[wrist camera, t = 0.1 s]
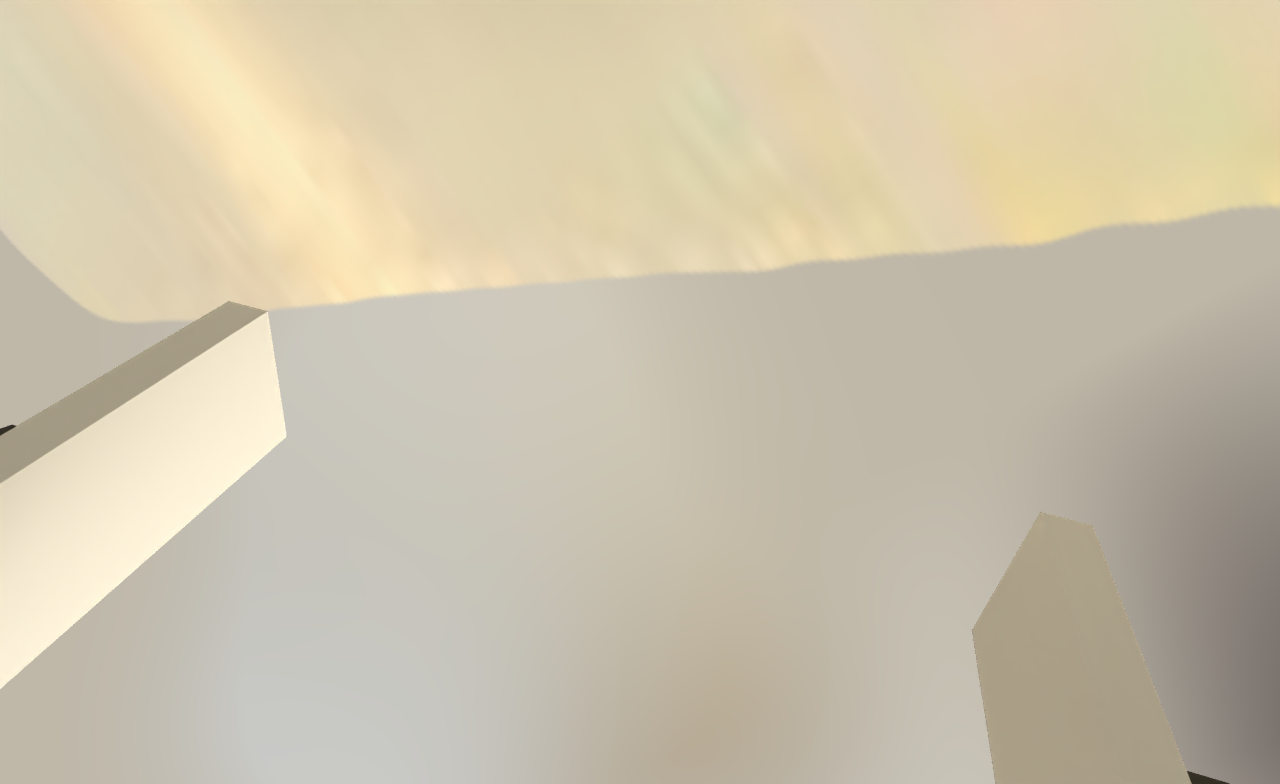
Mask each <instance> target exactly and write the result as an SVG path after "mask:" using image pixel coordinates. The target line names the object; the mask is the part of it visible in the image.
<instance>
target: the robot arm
mask: <svg viewBox="0 0 1280 784" xmlns="http://www.w3.org/2000/svg"><path fill="white" fill-rule="evenodd" d="M285 437H286V429H285V423H284V416H283V409H282V403H281V396H280V390H279V383H278V376H277V370H276V363H275V357H274V350H273V344H272V337H271V331H270V324H269V317H268V311H264V310H260V309H257V308H253V307H249V306H245V305H241V304H237V303H233V302H230V301H228V302H227V303H225V304H223V305H222V306H220V307H218V308H217V309H215V310H213V311H211V312H210V313H208V314H206V315H205V316H203V317H201V318H200V319H198V320H196V321H194V322H193V323H191V324H189V325H188V326H186V327H184V328H183V329H181V330H179V331H178V332H176V333H174V334H173V335H171V336H169V337H167V338H166V339H164V340H162V341H161V342H159V343H157V344H155V345H154V346H152V347H150V348H149V349H147V350H145V351H144V352H142V353H140V354H138V355H137V356H135V357H133V358H132V359H130V360H128V361H127V362H125V363H123V364H121V365H120V366H118V367H116V368H115V369H113V370H111V371H110V372H108V373H106V374H105V375H103V376H101V377H100V378H98V379H96V380H94V381H93V382H91V383H89V384H87V385H86V386H84V387H83V388H81V389H79V390H77V391H76V392H74V393H73V394H71V395H69V396H67V397H65V398H64V399H62V400H60V401H59V402H57V403H55V404H53V405H52V406H50V407H48V408H47V409H45V410H43V411H42V412H40V413H38V414H37V415H35V416H33V417H32V418H30V419H28V420H26V421H25V422H23V423H21V424H20V425H18V426H15V425H10V426H7V427H4V428H1V429H0V689H1V688H2V687H3V686H4V685H5V684H6V683H7V682H8V681H10V680H11V679H12V678H13V677H14V676H15V675H16V674H18V673H19V672H20V671H21V670H22V669H23V668H24V667H26V666H27V665H28V664H29V663H30V662H31V661H32V660H33V659H35V658H36V657H37V656H38V655H39V654H40V653H41V652H43V651H44V650H45V649H46V648H47V647H48V646H49V645H50V644H52V643H53V642H54V641H55V640H56V639H57V638H58V637H60V636H61V635H62V634H63V633H64V632H65V631H66V630H67V629H69V628H70V627H71V626H72V625H73V624H74V623H75V622H77V621H78V620H79V619H80V618H81V617H82V616H83V615H85V614H86V613H87V612H88V611H89V610H90V609H91V608H92V607H94V606H95V605H96V604H97V603H98V602H99V601H100V600H102V599H103V598H104V597H105V596H106V595H107V594H108V593H109V592H110V591H112V590H113V589H114V588H115V587H116V586H117V585H119V584H120V583H121V582H122V581H123V580H124V579H125V578H126V577H128V576H129V575H130V574H131V573H132V572H133V571H134V570H136V569H137V568H138V567H139V566H140V565H141V564H142V563H143V562H145V561H146V560H147V559H148V558H149V557H150V556H151V555H153V554H154V553H155V552H156V551H157V550H158V549H159V548H160V547H162V546H163V545H164V544H165V543H166V542H167V541H168V540H170V539H171V538H172V537H173V536H174V535H175V534H176V533H177V532H179V531H180V530H181V529H182V528H183V527H184V526H185V525H187V524H188V523H189V522H190V521H191V520H192V519H193V518H195V517H196V516H197V515H198V514H199V513H200V512H201V511H202V510H204V509H205V508H206V507H207V506H208V505H209V504H210V503H212V502H213V501H214V500H215V499H216V498H217V497H218V496H219V495H220V494H222V493H223V492H224V491H225V490H226V489H227V488H229V487H230V486H231V485H232V484H233V483H234V482H235V481H236V480H237V479H239V478H240V477H241V476H242V475H243V474H244V473H246V472H247V471H248V470H249V469H250V468H251V467H252V466H254V465H255V464H256V463H257V462H258V461H259V460H260V459H261V458H263V457H264V456H265V455H266V454H267V453H268V452H269V451H270V450H272V449H273V448H274V447H275V446H276V445H277V444H278V443H279V442H281V441H282V440H283V439H284V438H285ZM972 634H973V641H974V647H975V654H976V660H977V667H978V673H979V680H980V686H981V692H982V699H983V705H984V711H985V718H986V724H987V731H988V738H989V744H990V751H991V757H992V764H993V770H994V777H995V783H996V784H1229V783H1226V782H1223V781H1219V780H1216V779H1212V778H1209V777H1206V776H1202V775H1199V774H1195V773H1192V772H1189V771H1187V770H1186V768H1185V765H1184V763H1183V760H1182V757H1181V755H1180V752H1179V750H1178V747H1177V744H1176V742H1175V739H1174V736H1173V734H1172V731H1171V729H1170V726H1169V723H1168V721H1167V718H1166V716H1165V713H1164V711H1163V708H1162V705H1161V703H1160V700H1159V697H1158V695H1157V692H1156V689H1155V687H1154V684H1153V682H1152V679H1151V676H1150V674H1149V671H1148V669H1147V666H1146V664H1145V661H1144V658H1143V656H1142V653H1141V651H1140V648H1139V645H1138V643H1137V640H1136V637H1135V635H1134V632H1133V629H1132V627H1131V624H1130V622H1129V619H1128V616H1127V614H1126V611H1125V609H1124V606H1123V604H1122V601H1121V598H1120V595H1119V593H1118V590H1117V588H1116V585H1115V583H1114V580H1113V577H1112V575H1111V572H1110V569H1109V567H1108V564H1107V562H1106V559H1105V556H1104V554H1103V551H1102V549H1101V546H1100V543H1099V541H1098V538H1097V535H1096V533H1095V530H1094V528H1093V526H1092V525H1088V524H1085V523H1081V522H1077V521H1073V520H1069V519H1065V518H1061V517H1057V516H1054V515H1049V514H1046V513H1042V512H1040V514H1039V515H1038V517H1037V519H1036V520H1035V522H1034V524H1033V526H1032V527H1031V529H1030V531H1029V533H1028V534H1027V536H1026V538H1025V539H1024V541H1023V543H1022V545H1021V547H1020V548H1019V550H1018V552H1017V553H1016V555H1015V557H1014V558H1013V560H1012V562H1011V564H1010V566H1009V567H1008V569H1007V571H1006V572H1005V574H1004V576H1003V578H1002V579H1001V581H1000V583H999V584H998V586H997V588H996V590H995V591H994V593H993V595H992V597H991V598H990V600H989V602H988V603H987V605H986V607H985V609H984V610H983V612H982V614H981V616H980V617H979V619H978V621H977V622H976V624H975V626H974V628H973V629H972Z"/></svg>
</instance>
